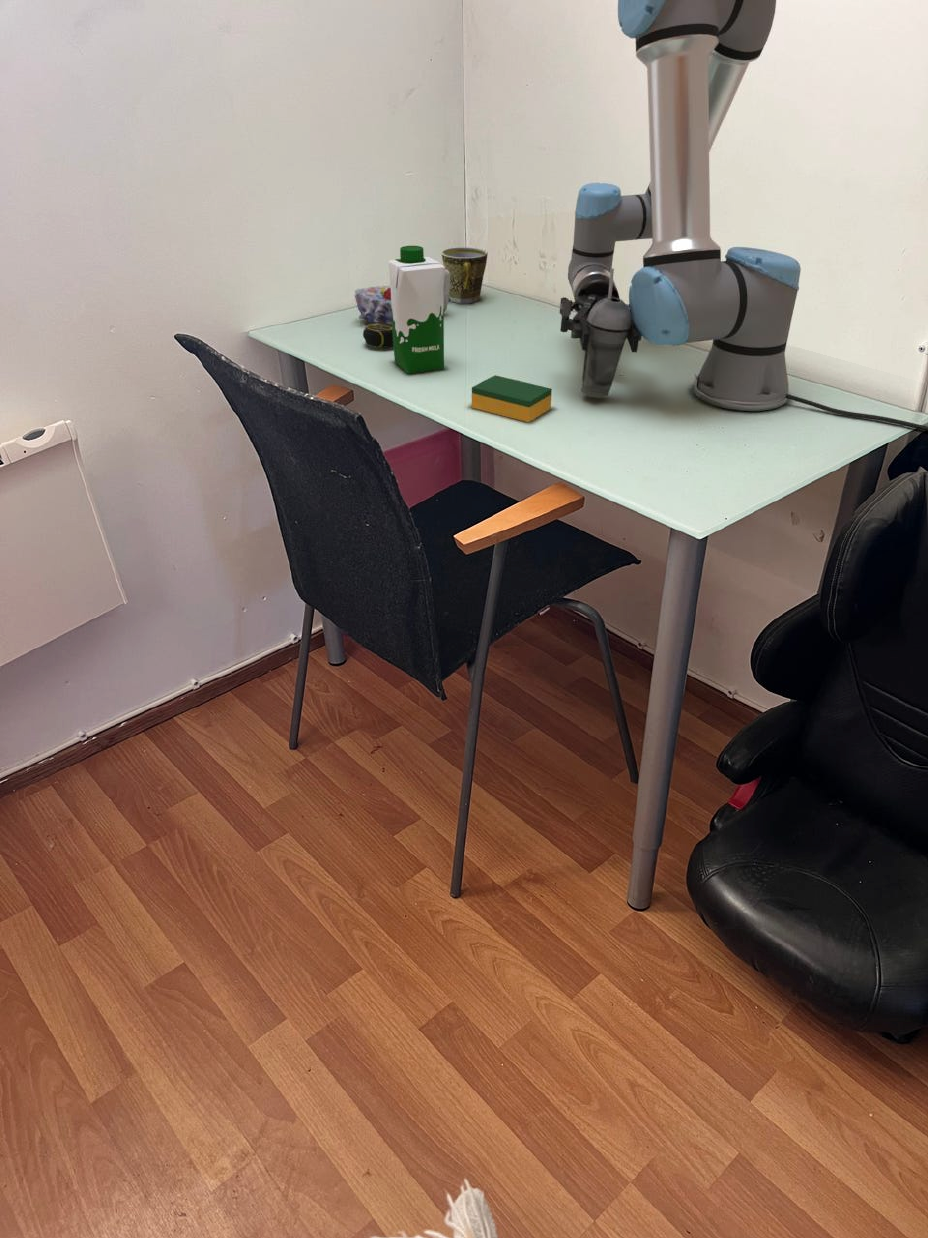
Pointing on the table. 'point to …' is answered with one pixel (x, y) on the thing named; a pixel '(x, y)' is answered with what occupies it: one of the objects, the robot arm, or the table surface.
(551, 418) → the table surface
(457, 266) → the ceramic cup
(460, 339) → the table surface
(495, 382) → the sponge
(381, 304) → the cell model
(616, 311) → the beverage cup
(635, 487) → the table surface
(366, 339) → the tape measure
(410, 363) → the milk carton
